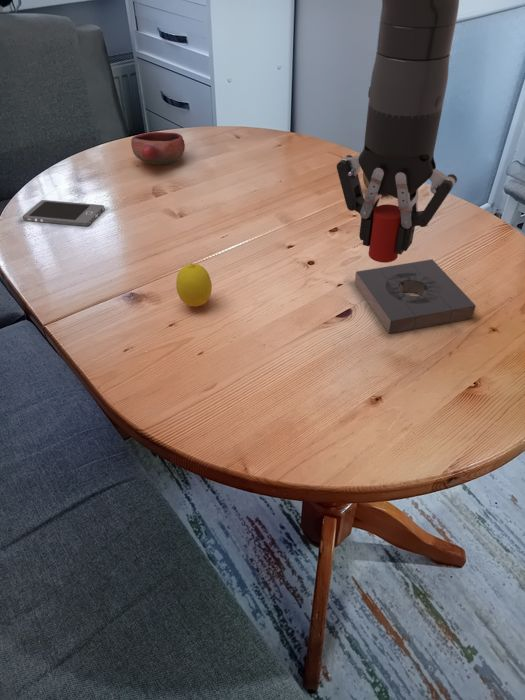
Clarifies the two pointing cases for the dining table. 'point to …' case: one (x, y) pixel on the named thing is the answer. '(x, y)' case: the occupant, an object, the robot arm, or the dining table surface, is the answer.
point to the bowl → (158, 147)
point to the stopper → (384, 233)
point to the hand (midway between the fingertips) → (384, 246)
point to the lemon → (193, 285)
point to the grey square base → (413, 311)
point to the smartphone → (64, 212)
